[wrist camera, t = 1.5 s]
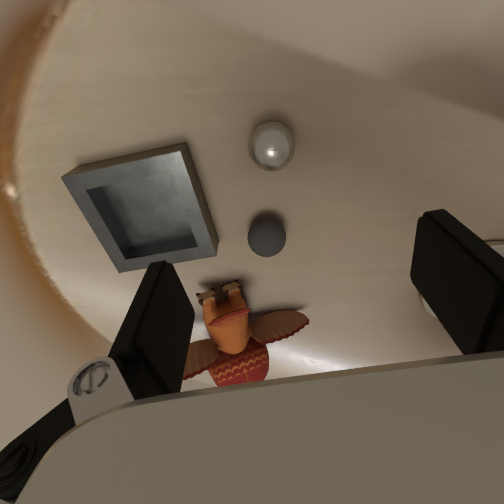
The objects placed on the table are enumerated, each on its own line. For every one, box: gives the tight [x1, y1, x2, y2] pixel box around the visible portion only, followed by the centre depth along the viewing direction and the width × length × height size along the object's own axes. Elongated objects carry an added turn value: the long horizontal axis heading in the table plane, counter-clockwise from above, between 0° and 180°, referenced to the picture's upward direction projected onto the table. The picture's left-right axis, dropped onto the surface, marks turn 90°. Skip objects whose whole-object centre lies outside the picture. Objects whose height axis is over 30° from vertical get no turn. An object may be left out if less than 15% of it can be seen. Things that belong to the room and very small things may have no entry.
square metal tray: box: [61, 142, 219, 273], centre depth 29 cm, size 11×11×3 cm
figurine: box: [183, 280, 309, 387], centre depth 37 cm, size 20×9×15 cm
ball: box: [248, 219, 286, 257], centre depth 30 cm, size 4×4×4 cm
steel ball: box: [248, 122, 295, 171], centre depth 25 cm, size 4×4×4 cm
